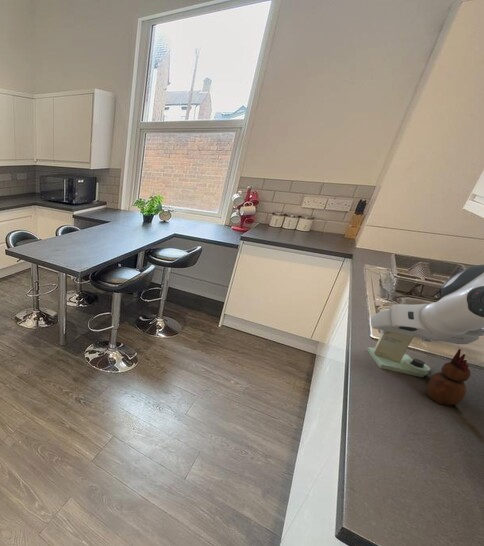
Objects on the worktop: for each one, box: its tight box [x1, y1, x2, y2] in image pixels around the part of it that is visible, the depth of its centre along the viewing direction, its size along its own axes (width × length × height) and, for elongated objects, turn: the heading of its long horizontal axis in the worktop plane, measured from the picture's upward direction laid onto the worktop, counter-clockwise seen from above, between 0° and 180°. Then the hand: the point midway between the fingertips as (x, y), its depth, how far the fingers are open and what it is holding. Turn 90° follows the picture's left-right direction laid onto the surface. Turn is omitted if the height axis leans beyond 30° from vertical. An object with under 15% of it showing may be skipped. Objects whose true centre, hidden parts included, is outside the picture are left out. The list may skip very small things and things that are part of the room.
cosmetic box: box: [373, 332, 415, 362], centre depth 96 cm, size 6×4×12 cm
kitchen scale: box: [367, 346, 431, 378], centre depth 96 cm, size 11×11×3 cm
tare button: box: [411, 358, 426, 368], centre depth 92 cm, size 2×2×2 cm
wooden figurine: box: [426, 348, 471, 406], centre depth 80 cm, size 7×6×15 cm
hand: (403, 334), depth 92 cm, fingers open, 8 cm apart
